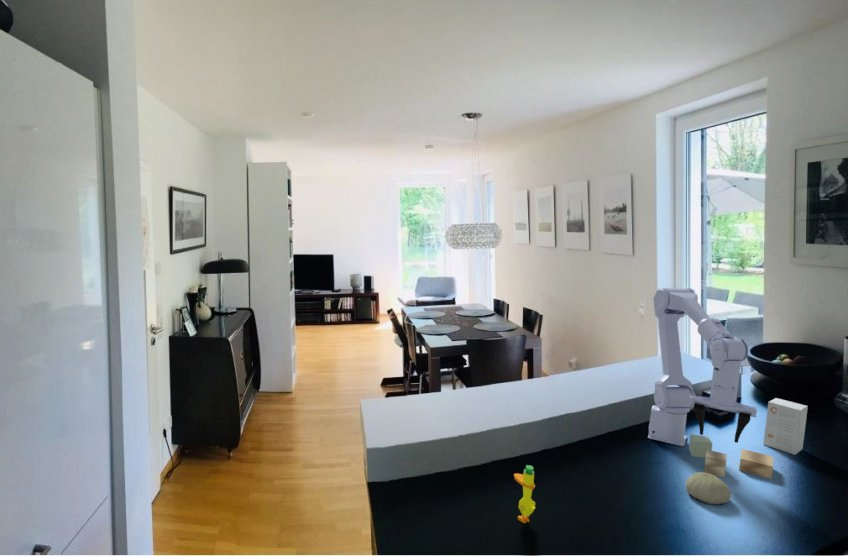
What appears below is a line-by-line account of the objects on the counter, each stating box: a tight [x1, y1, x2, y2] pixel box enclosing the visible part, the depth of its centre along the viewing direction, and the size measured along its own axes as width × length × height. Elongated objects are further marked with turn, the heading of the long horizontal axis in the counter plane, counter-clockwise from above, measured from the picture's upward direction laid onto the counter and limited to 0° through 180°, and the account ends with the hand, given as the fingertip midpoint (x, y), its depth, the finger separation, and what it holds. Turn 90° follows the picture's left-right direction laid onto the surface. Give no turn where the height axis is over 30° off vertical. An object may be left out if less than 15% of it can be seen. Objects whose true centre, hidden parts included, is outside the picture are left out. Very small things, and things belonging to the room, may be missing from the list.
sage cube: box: [688, 433, 713, 459], centre depth 143 cm, size 4×4×4 cm
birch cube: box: [703, 450, 728, 478], centre depth 133 cm, size 4×4×4 cm
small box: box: [763, 397, 809, 456], centre depth 149 cm, size 8×6×13 cm
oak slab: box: [738, 448, 774, 480], centre depth 135 cm, size 7×7×4 cm
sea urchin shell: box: [685, 471, 732, 505], centre depth 121 cm, size 9×8×8 cm
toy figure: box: [513, 464, 536, 524], centre depth 108 cm, size 7×4×12 cm, turn 30°
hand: (718, 437), depth 132 cm, fingers open, 7 cm apart
